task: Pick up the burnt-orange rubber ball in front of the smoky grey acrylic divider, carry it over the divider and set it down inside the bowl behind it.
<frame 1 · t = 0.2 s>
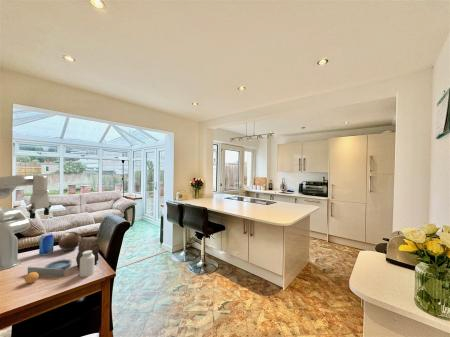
hand: (39, 216, 132), 36 cm above the table, tool pointing down, fingers open, 9 cm apart
ball: (31, 277, 115), point 3 cm above the table
wooden sphere: (69, 249, 161), on the table
beer can: (46, 253, 153), on the table
divider: (45, 275, 123), on the table
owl: (85, 266, 135), on the table
pill bottle: (87, 274, 125), on the table
bowl: (58, 267, 132), on the table
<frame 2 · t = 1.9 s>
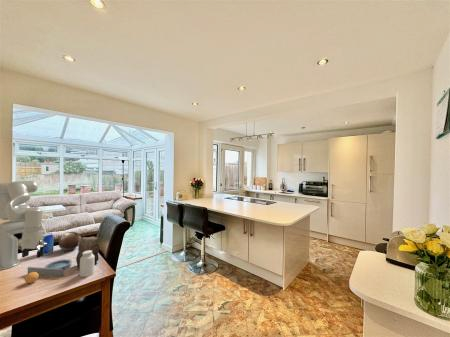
hand: (32, 256, 115), 16 cm above the table, tool pointing down, fingers open, 9 cm apart
nothing on the table moved.
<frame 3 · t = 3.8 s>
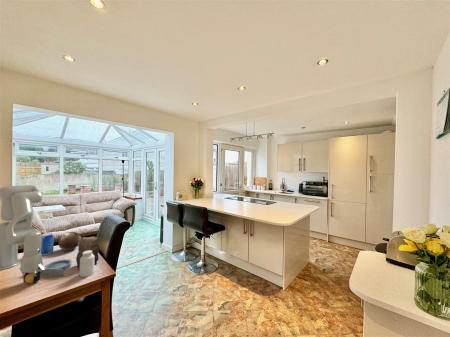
hand: (31, 281, 115), 1 cm above the table, tool pointing down, fingers closed on ball, 5 cm apart
ball: (31, 277, 115), point 3 cm above the table, touching gripper
everything else where it was.
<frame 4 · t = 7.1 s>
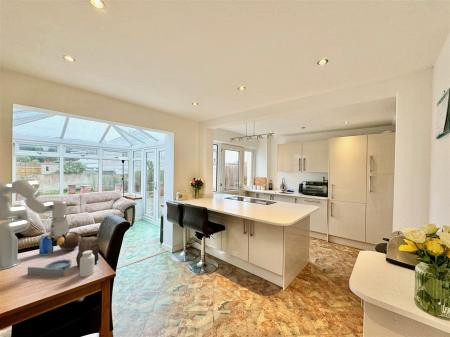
hand: (58, 243, 132), 17 cm above the table, tool pointing down, fingers closed on ball, 5 cm apart
ball: (58, 240, 132), point 19 cm above the table, touching gripper
everything else where it was.
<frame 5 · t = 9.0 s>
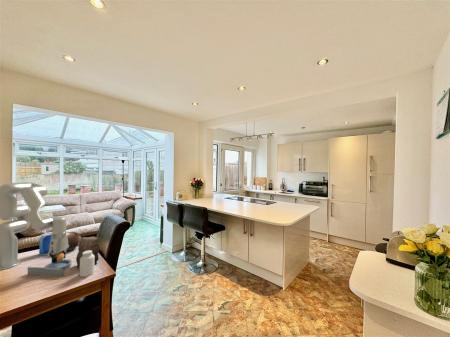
hand: (58, 260, 132), 5 cm above the table, tool pointing down, fingers closed on ball, 5 cm apart
ball: (58, 257, 132), point 8 cm above the table, touching gripper
everything else where it was.
when the fingers open (3 cm above the table, at t = 10.5 s): ball drops 1 cm, resting on bowl.
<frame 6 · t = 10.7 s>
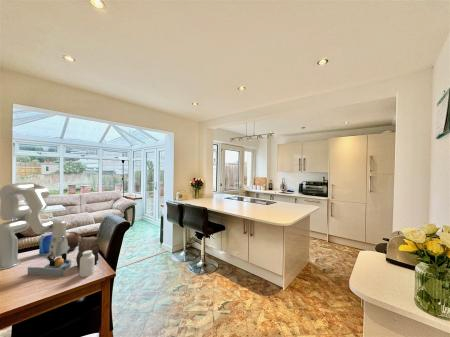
hand: (58, 262, 132), 4 cm above the table, tool pointing down, fingers open, 8 cm apart
ball: (58, 262, 132), point 4 cm above the table, touching bowl
everything else where it was.
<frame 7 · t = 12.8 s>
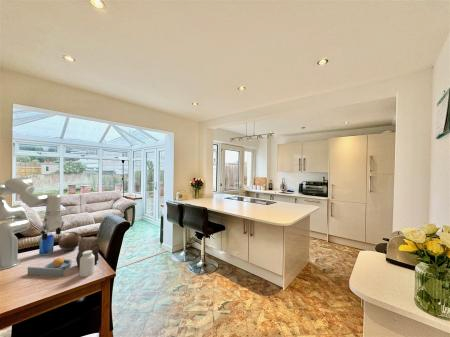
hand: (51, 236, 131), 22 cm above the table, tool pointing down, fingers open, 9 cm apart
nothing on the table moved.
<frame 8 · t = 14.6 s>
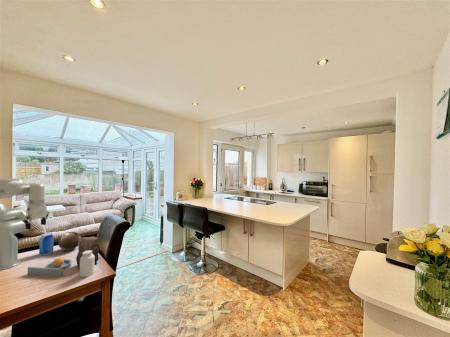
hand: (36, 226, 128), 30 cm above the table, tool pointing down, fingers open, 9 cm apart
nothing on the table moved.
at the end: ball inside the target area on the bowl (0.1 cm from its centre), point 4.0 cm above the bowl's base; the gripper is holding nothing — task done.
